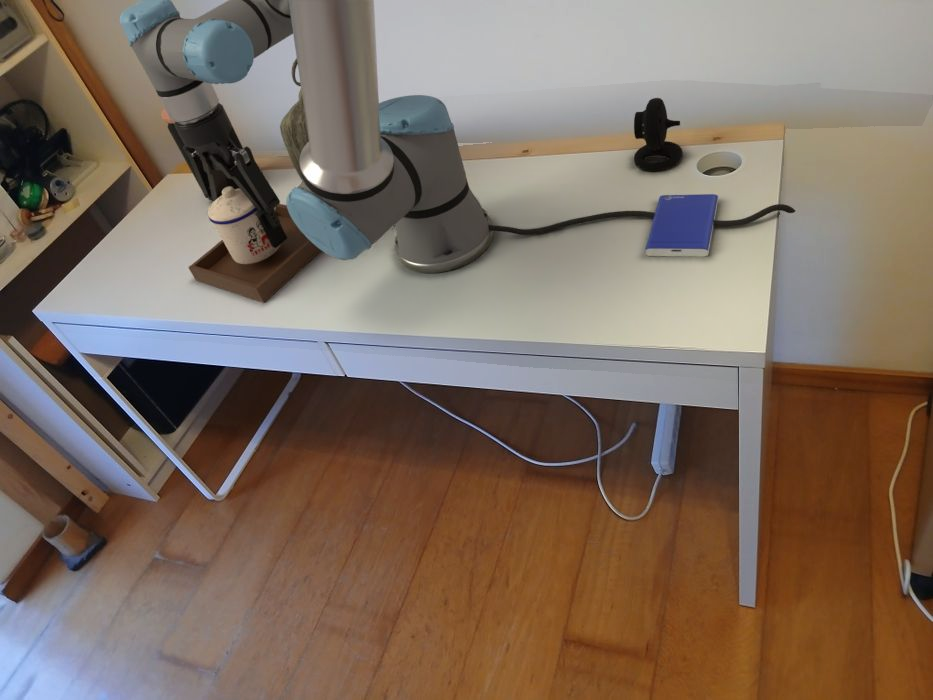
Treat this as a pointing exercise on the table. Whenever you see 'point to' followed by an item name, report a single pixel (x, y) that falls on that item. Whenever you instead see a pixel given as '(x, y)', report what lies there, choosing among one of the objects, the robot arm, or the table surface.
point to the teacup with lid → (240, 227)
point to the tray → (257, 264)
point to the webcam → (655, 137)
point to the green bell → (295, 128)
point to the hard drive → (682, 225)
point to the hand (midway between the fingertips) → (261, 237)
